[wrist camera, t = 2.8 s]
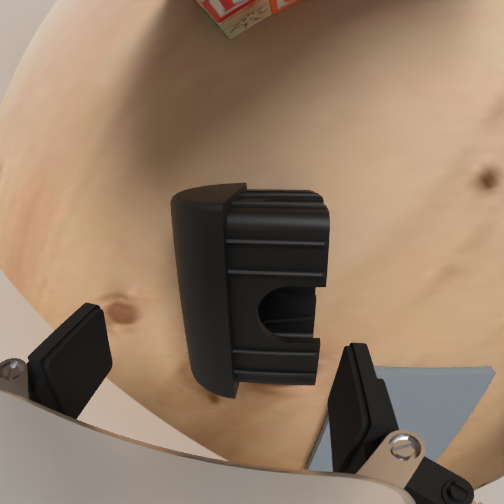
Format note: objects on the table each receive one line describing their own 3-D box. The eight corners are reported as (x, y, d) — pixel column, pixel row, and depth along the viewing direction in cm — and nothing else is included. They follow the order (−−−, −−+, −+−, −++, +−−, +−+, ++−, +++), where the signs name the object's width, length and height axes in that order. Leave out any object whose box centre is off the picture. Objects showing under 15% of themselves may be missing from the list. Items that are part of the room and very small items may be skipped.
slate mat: (491, 366, 20) (495, 373, 19) (428, 460, 25) (430, 467, 24) (344, 364, 21) (346, 373, 20) (307, 464, 26) (307, 472, 25)
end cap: (196, 181, 18) (147, 205, 12) (319, 181, 18) (332, 205, 11) (208, 327, 22) (178, 394, 16) (311, 332, 21) (313, 405, 15)
